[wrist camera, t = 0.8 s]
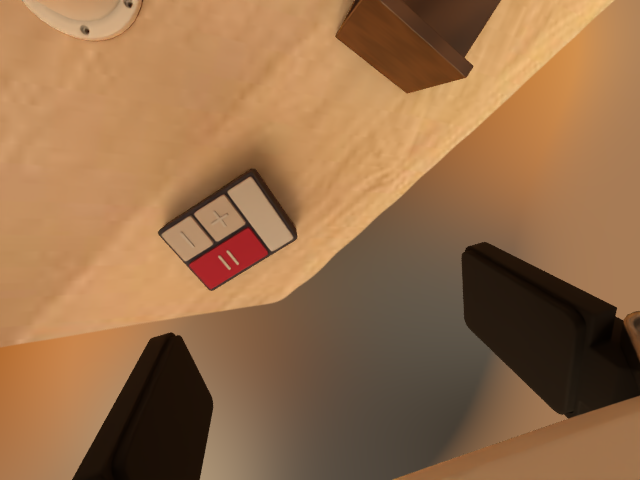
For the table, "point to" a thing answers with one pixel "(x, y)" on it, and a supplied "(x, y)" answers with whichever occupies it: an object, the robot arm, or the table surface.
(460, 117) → the table surface
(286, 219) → the calculator
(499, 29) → the table surface
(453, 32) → the shelf
